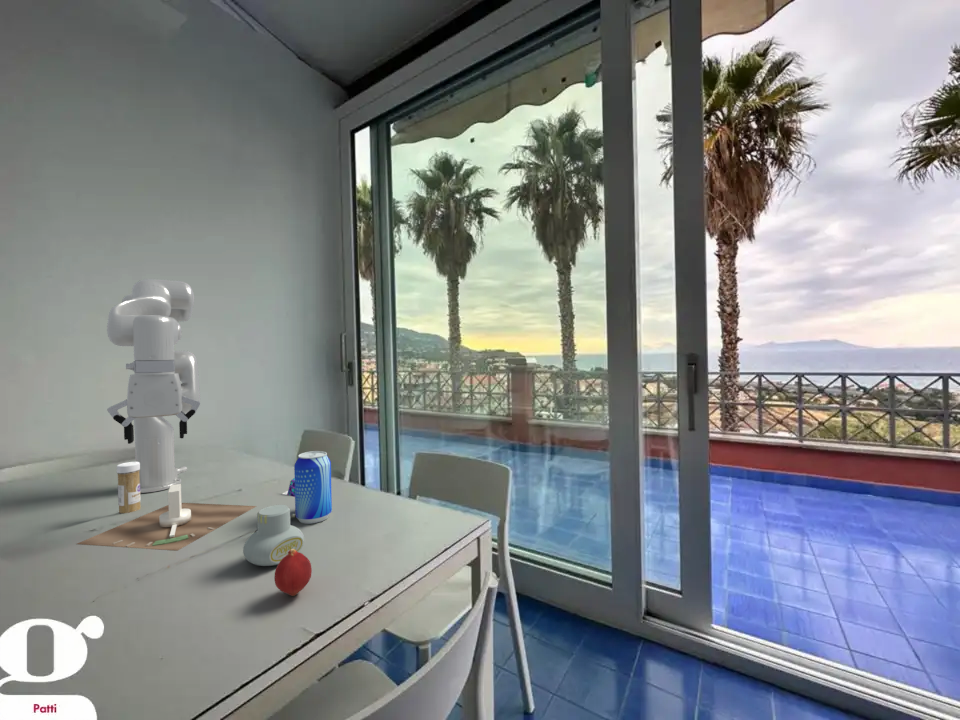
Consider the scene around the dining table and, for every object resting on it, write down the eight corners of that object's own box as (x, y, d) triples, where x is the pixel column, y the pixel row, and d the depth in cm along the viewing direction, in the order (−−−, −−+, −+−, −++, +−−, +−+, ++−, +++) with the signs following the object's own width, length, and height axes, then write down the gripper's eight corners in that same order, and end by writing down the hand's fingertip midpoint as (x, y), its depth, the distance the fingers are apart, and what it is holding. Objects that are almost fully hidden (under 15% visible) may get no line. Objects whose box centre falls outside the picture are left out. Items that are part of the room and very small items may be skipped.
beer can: (339, 514, 106) (337, 451, 105) (313, 527, 98) (311, 460, 98) (314, 509, 109) (313, 448, 109) (287, 521, 102) (286, 456, 101)
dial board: (174, 507, 111) (174, 501, 111) (256, 511, 108) (256, 505, 108) (76, 550, 88) (75, 543, 88) (177, 557, 84) (177, 549, 84)
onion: (282, 586, 74) (281, 541, 74) (316, 584, 74) (315, 539, 74) (269, 606, 68) (268, 557, 68) (305, 604, 69) (304, 556, 68)
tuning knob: (161, 520, 99) (160, 486, 99) (191, 514, 102) (190, 482, 102) (154, 540, 88) (153, 503, 88) (188, 533, 91) (187, 497, 91)
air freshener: (259, 577, 77) (258, 523, 77) (235, 565, 81) (234, 514, 81) (311, 552, 86) (310, 504, 86) (287, 543, 90) (286, 497, 90)
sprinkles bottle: (140, 516, 106) (138, 463, 106) (116, 520, 103) (114, 466, 103) (142, 510, 110) (140, 460, 109) (119, 514, 107) (118, 462, 107)
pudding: (275, 506, 113) (275, 487, 113) (283, 491, 124) (282, 474, 124) (322, 501, 116) (322, 482, 116) (326, 487, 128) (325, 470, 128)
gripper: (102, 370, 90) (105, 448, 91) (198, 367, 100) (200, 438, 101) (109, 368, 97) (112, 441, 97) (199, 366, 106) (201, 432, 107)
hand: (157, 439), depth 99 cm, fingers open, 9 cm apart
